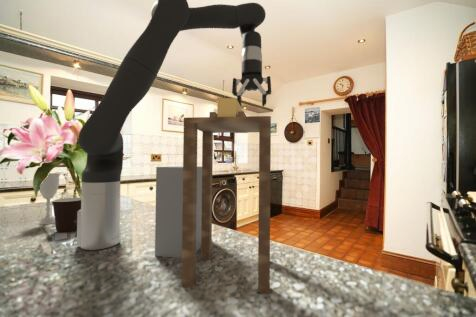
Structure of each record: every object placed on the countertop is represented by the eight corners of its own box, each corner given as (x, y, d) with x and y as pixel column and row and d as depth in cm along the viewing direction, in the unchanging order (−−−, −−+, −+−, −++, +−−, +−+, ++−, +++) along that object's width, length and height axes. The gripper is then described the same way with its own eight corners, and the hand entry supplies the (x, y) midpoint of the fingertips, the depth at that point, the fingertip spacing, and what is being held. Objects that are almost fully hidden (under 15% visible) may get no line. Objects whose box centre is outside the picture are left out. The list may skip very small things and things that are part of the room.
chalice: (63, 222, 86) (64, 173, 86) (40, 226, 80) (41, 174, 81) (54, 219, 90) (55, 173, 90) (32, 223, 84) (33, 173, 84)
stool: (181, 286, 42) (183, 112, 43) (203, 255, 56) (205, 124, 57) (269, 293, 40) (270, 110, 41) (269, 260, 54) (270, 123, 55)
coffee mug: (67, 234, 71) (68, 202, 72) (44, 232, 73) (45, 201, 73) (97, 224, 83) (97, 196, 83) (77, 223, 85) (77, 195, 85)
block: (154, 256, 56) (156, 167, 56) (177, 237, 70) (178, 166, 70) (190, 258, 55) (191, 167, 55) (206, 239, 68) (207, 166, 69)
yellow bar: (217, 117, 43) (217, 98, 43) (235, 133, 64) (235, 120, 64) (236, 117, 42) (236, 98, 42) (247, 132, 64) (247, 120, 64)
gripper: (230, 59, 83) (230, 104, 82) (271, 56, 80) (271, 103, 80) (234, 67, 90) (234, 109, 90) (271, 65, 88) (271, 108, 87)
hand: (251, 106), depth 85 cm, fingers open, 8 cm apart
